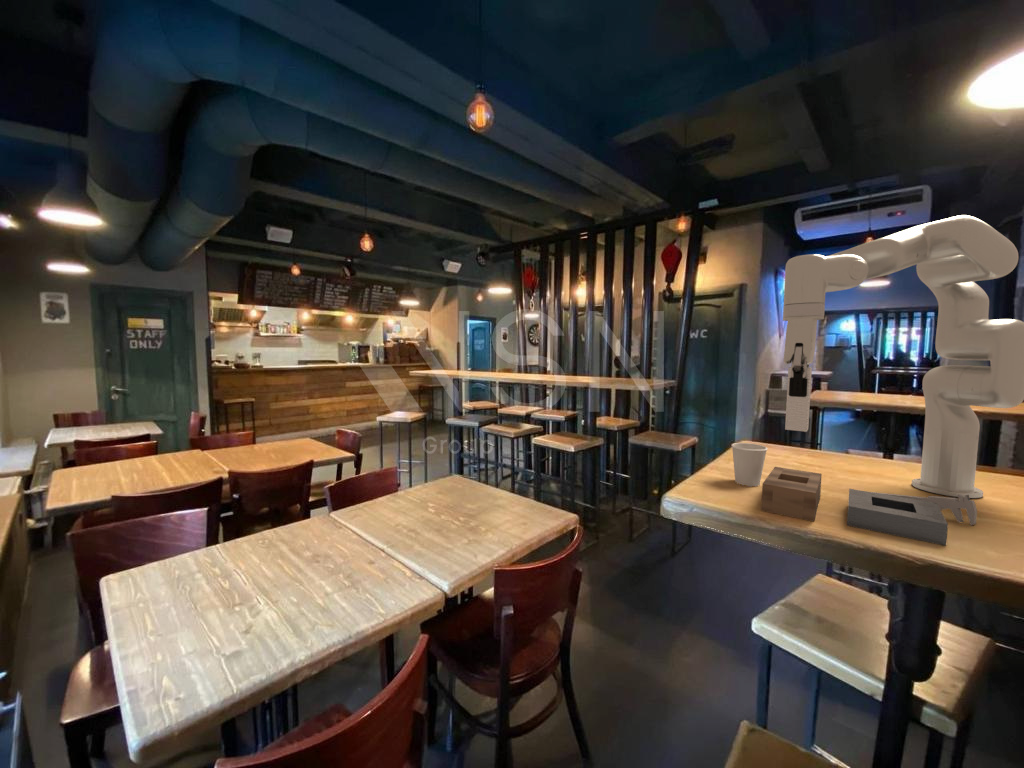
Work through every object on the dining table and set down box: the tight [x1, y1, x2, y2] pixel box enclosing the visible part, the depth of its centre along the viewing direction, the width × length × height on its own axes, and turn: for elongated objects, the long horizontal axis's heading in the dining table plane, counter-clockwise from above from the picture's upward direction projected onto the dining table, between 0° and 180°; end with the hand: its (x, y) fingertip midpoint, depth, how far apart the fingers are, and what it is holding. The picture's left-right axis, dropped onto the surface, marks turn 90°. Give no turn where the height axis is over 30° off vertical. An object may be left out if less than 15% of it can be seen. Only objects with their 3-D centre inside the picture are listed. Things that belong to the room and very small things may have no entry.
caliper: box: [872, 491, 978, 526], centre depth 94 cm, size 20×1×6 cm, turn 25°
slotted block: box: [760, 466, 822, 522], centre depth 96 cm, size 18×10×6 cm, turn 141°
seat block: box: [846, 488, 949, 546], centre depth 86 cm, size 14×14×4 cm
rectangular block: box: [784, 366, 813, 433], centre depth 95 cm, size 4×4×14 cm
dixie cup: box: [731, 442, 768, 487], centre depth 111 cm, size 8×8×10 cm
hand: (798, 394), depth 94 cm, fingers closed on rectangular block, 4 cm apart
